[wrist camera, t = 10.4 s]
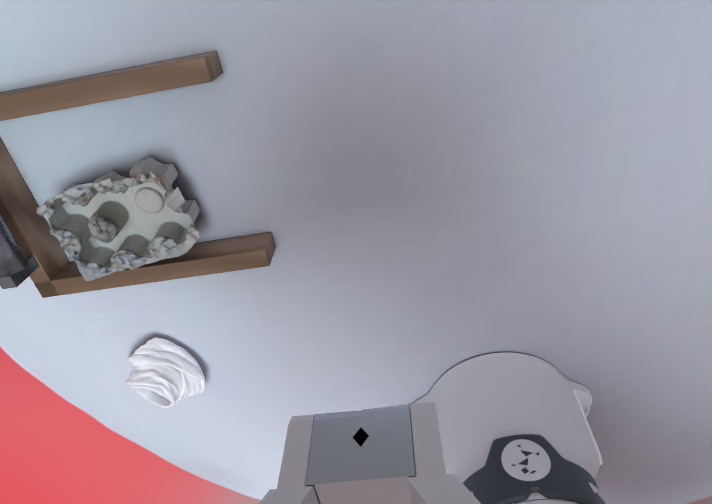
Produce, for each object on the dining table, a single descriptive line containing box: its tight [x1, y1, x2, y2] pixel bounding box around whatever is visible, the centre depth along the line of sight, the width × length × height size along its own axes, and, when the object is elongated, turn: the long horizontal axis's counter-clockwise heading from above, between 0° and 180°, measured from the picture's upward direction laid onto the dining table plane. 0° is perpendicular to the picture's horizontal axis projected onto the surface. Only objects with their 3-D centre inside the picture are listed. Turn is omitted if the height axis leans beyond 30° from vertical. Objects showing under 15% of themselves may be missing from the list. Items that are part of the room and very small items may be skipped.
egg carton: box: [36, 157, 200, 281], centre depth 38 cm, size 11×8×4 cm
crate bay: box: [0, 51, 276, 298], centre depth 38 cm, size 16×20×3 cm
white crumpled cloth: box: [125, 337, 205, 408], centre depth 47 cm, size 8×7×5 cm
